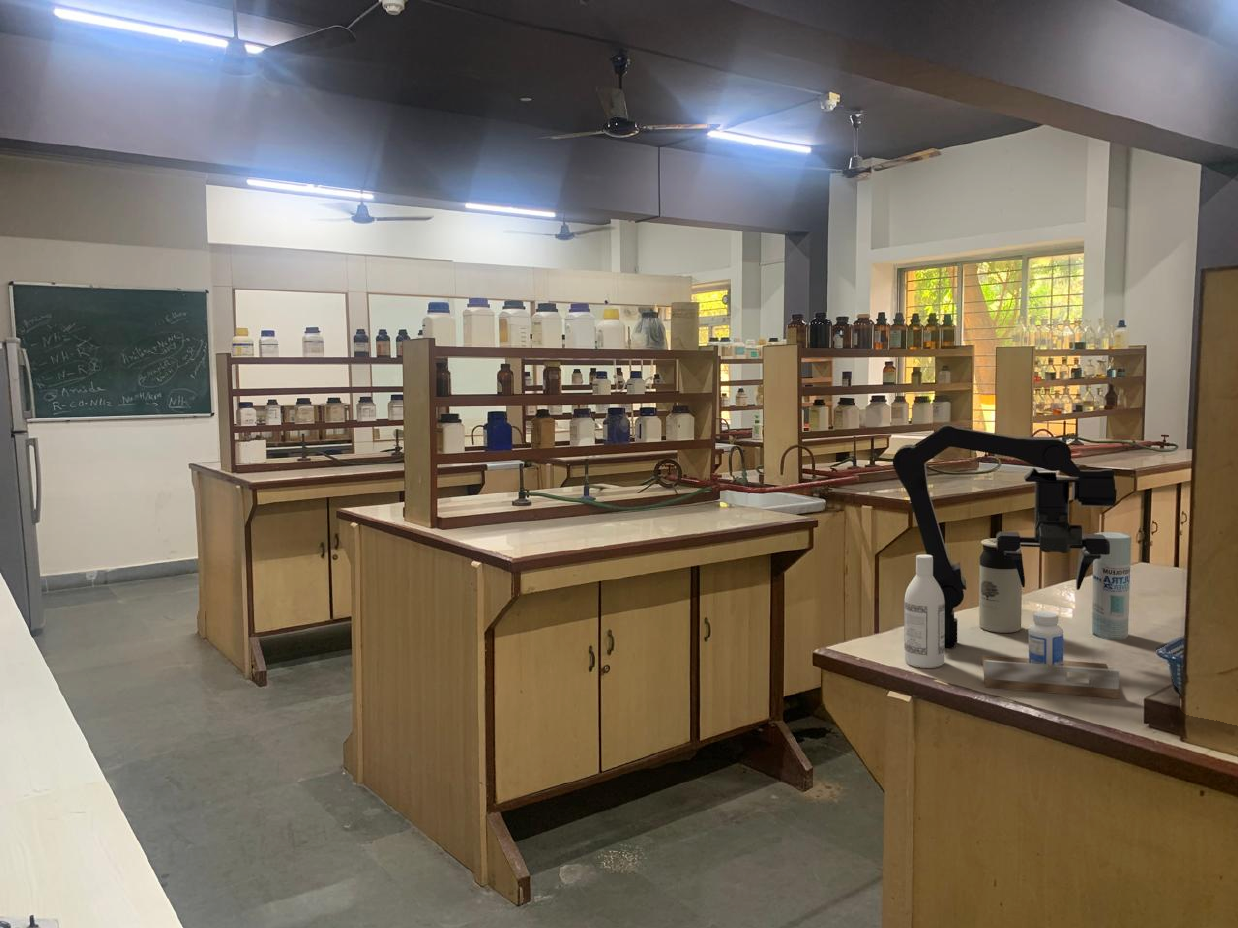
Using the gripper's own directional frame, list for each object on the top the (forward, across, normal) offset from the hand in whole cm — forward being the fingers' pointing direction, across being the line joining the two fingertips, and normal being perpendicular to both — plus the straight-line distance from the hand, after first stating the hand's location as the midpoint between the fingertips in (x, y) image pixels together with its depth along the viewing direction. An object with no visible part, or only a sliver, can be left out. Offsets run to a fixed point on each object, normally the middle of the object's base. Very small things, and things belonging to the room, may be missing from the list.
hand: (1050, 588), depth 169 cm
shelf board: (+12, -2, -17) cm, 21 cm away
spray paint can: (+12, +12, +13) cm, 22 cm away
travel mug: (+12, -8, +13) cm, 20 cm away
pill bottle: (+11, -2, -16) cm, 19 cm away
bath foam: (+12, -22, -13) cm, 28 cm away
